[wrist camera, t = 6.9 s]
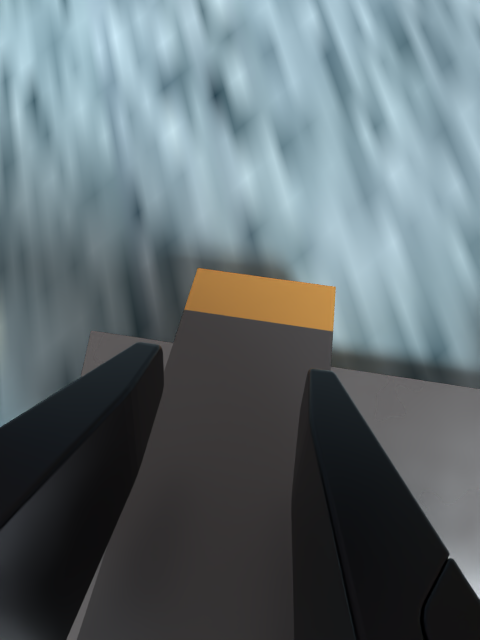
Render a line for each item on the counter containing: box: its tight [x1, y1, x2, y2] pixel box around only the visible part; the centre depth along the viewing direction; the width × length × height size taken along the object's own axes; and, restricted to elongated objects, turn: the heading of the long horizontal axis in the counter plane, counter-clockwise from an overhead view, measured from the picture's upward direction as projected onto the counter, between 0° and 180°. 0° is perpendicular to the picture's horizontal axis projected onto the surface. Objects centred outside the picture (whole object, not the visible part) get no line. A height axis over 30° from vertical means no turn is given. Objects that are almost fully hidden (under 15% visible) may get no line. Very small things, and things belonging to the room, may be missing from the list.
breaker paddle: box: [77, 268, 336, 640], centre depth 11 cm, size 2×4×10 cm
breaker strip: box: [67, 331, 480, 640], centre depth 11 cm, size 11×22×4 cm, turn 81°
